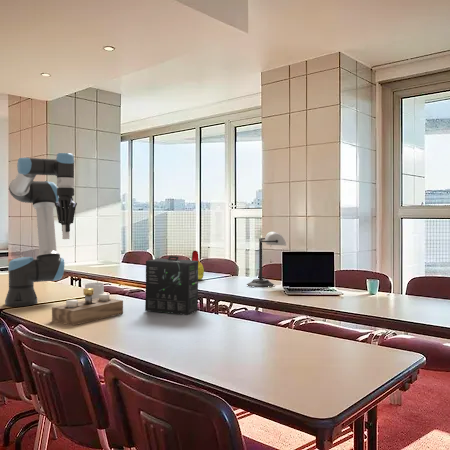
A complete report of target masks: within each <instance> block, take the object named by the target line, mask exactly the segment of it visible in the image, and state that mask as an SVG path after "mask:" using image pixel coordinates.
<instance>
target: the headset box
mask: <svg viewBox="0 0 450 450" xmlns="http://www.w3.org/2000/svg"><path fill="white" fill-rule="evenodd" d="M198 293H199V279H198V261H192V259H190V260H188V259H179V256H178V255H177V256H175V255H174V256H172V255H169V256H168V258H157V257H156V258H155V259H150V260H146V261H145V299H144V300H145V305H144V306H145V308H144V309H145V310H144V311H145V312H152V313H153V312H154V313H165V314H176V315H183V314H184V315H183V316H189V315H192V314H193V313H195V312H197V311H198V309H199V306H198V305H199V304H198V303H199V294H198ZM194 311H195V312H194ZM192 312H193V313H192Z"/></svg>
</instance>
